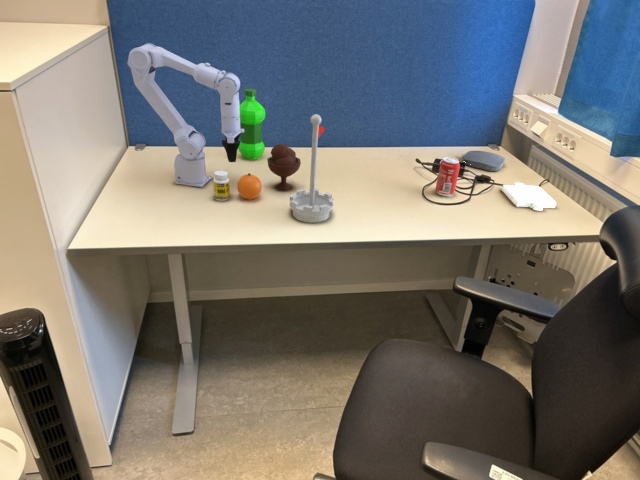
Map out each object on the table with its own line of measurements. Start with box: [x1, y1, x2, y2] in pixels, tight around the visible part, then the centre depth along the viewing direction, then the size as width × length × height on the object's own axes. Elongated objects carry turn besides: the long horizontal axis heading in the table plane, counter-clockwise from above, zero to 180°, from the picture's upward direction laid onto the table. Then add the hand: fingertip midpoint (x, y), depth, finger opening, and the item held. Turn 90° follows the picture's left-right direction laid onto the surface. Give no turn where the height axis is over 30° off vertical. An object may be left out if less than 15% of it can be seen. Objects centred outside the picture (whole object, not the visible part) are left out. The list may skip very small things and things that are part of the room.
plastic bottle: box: [238, 88, 266, 160], centre depth 172 cm, size 10×10×25 cm
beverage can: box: [435, 156, 461, 197], centre depth 157 cm, size 6×6×12 cm
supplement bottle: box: [213, 170, 231, 202], centre depth 145 cm, size 5×5×8 cm
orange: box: [236, 173, 263, 201], centre depth 146 cm, size 8×8×8 cm
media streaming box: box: [461, 150, 506, 172], centre depth 186 cm, size 15×15×3 cm
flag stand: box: [289, 113, 335, 224], centre depth 133 cm, size 13×13×30 cm
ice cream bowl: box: [267, 143, 302, 192], centre depth 153 cm, size 11×11×15 cm
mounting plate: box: [501, 182, 557, 212], centre depth 159 cm, size 18×13×2 cm
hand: (232, 157), depth 151 cm, fingers open, 7 cm apart
